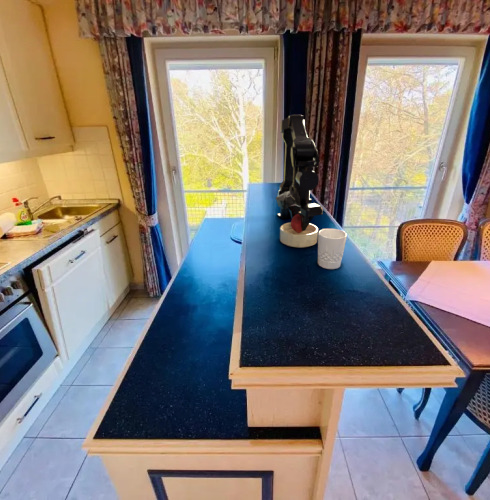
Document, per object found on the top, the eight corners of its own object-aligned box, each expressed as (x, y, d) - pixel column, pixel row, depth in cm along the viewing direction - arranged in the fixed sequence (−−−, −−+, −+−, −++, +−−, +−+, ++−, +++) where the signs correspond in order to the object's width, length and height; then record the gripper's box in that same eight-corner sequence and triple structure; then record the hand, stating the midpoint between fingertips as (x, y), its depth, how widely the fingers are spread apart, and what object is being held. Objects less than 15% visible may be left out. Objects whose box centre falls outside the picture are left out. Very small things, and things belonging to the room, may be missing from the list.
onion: (302, 237, 96) (304, 215, 92) (287, 234, 99) (288, 212, 95) (309, 232, 100) (310, 210, 97) (294, 229, 103) (295, 208, 100)
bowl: (273, 237, 104) (274, 224, 102) (304, 232, 108) (305, 220, 106) (290, 251, 93) (291, 237, 91) (324, 245, 97) (325, 231, 95)
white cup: (324, 255, 90) (328, 226, 85) (347, 263, 84) (352, 233, 80) (310, 264, 85) (313, 233, 80) (333, 273, 79) (337, 240, 75)
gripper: (267, 180, 97) (267, 222, 104) (293, 192, 81) (291, 241, 88) (296, 177, 101) (294, 218, 107) (325, 188, 85) (321, 235, 92)
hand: (298, 227), depth 99 cm, fingers closed on onion, 6 cm apart
